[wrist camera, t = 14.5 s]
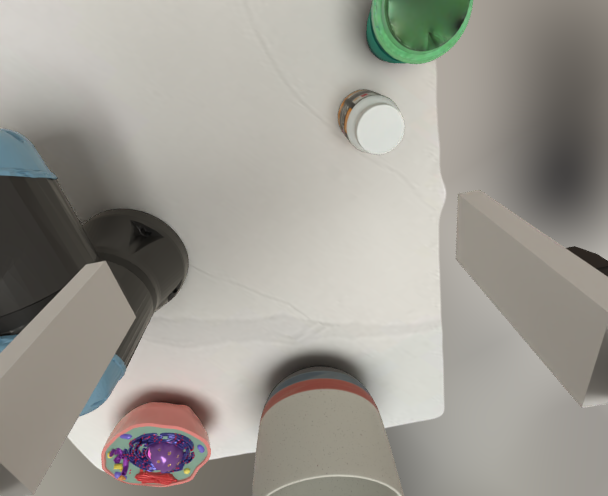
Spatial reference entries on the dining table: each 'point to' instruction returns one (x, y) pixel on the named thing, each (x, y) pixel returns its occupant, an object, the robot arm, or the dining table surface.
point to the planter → (323, 439)
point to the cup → (415, 28)
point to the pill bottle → (371, 122)
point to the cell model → (156, 446)
